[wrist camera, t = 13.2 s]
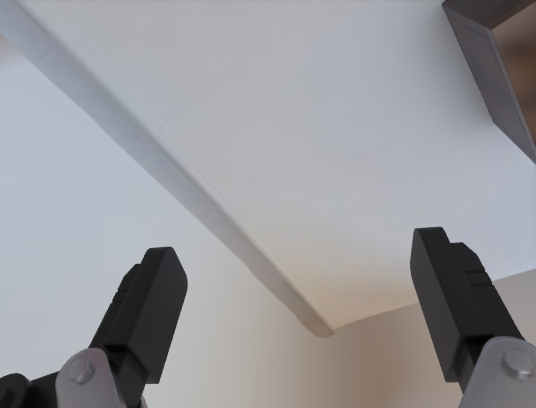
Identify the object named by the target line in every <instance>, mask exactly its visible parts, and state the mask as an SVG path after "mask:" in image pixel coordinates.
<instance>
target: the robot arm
mask: <svg viewBox="0 0 536 408" xmlns="http://www.w3.org/2000/svg"><path fill="white" fill-rule="evenodd" d="M410 270H411V276H412V280H413V283H414V286H415V289H416V293H417V296H418V299H419V302H420V305H421V307H422V311H423V314H424V317H425V320H426V323H427V326H428V329H429V332H430V335H431V338H432V342H433V344H434V348H435V351H436V354H437V357H438V360H439V363H440V366H441V369H442V372H443V375H444V378H445V381H446V382H459V385H460V387H461V390H462V393H463V397H462V400H461V402H460V404H459V407H458V408H536V347H535V346H533V345H532V344H530V343H528V342H527V341H526V340H525V339H524V338H523V337H522V335H521V334H520V332H519V330H518V329H517V327H516V325H515V323H514V321H513V320H512V318H511V316H510V314H509V312H508V310H507V309H506V307H505V305H504V303H503V301H502V299H501V298H500V296H499V294H498V292H497V290H496V289H495V287H494V285H492V281H491V279H490V278H489V276H488V274H487V273H486V272H485V269H484V267H483V265H482V263H481V261H480V259H479V258H478V256H477V254H476V253H474V252H473V251H472V250H471V249H470V248H468V247H467V246H466V245H465V244H464V243H463V242H460V243H450V241H449V239H448V237H447V235H446V233H445V231H444V229H443V228H442V227H429V228H416V229H415V230H414V234H413V242H412V250H411V259H410ZM187 286H188V283H187V276H186V273H185V271H184V269H183V267H182V265H181V263H180V261H179V259H178V257H177V255H176V253H175V251H174V249H173V248H172V247H158V248H149V249H148V250H147V251H146V253H145V255H144V258H143V260H142V262H141V264H135V265H134V266H133V268H131V269H130V271H129V272H128V273H127V274H126V275H125V276H124V278H123V280H122V282H121V284H120V286H119V288H118V292H116V294H115V296H114V298H113V300H112V301H113V302H112V303H111V304H110V306H109V308H108V310H107V312H106V314H105V316H104V318H103V320H102V322H101V324H100V326H99V328H98V330H97V332H96V334H95V336H94V338H93V340H92V342H91V344H90V346H89V347H88V349H85V350H82V351H80V352H78V353H77V354H75V355H74V356H72V357H71V358H70V359H69V360H68V361H67V362H66V363H65V364H64V365H63V367H62V368H61V370H60V371H58V372H55V373H52V374H49V375H46V376H43V377H41V378H38V379H35V380H32V381H29V380H28V379H27V378H26V377H25V376H23V375H22V374H18V373H14V374H9V375H6V376H4V377H2V378H0V408H147V405H146V402H145V399H144V397H143V395H142V393H143V390H144V387H145V384H158V383H159V381H160V378H161V374H162V371H163V368H164V365H165V362H166V358H167V355H168V352H169V348H170V345H171V342H172V339H173V335H174V332H175V329H176V325H177V322H178V319H179V315H180V312H181V309H182V305H183V303H184V299H185V296H186V293H187Z"/></svg>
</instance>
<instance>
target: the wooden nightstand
mask: <svg viewBox="0 0 536 408" xmlns="http://www.w3.org/2000/svg"><path fill="white" fill-rule="evenodd" d="M442 6H443V8H444V10H445V13H446V14H447V17H448V20H449V22H450V24H451V26H452V29H453V31H454V33H455V35H456V38H457V40H458V42H459V44H460V47H461V49H462V51H463V54H464V56H465V58H466V60H467V63H468V65H469V67H470V69H471V72H472V74H473V76H474V79H475V81H476V83H477V85H478V88H479V90H480V92H481V94H482V97H483V99H484V101H485V103H486V106H487V108H488V110H489V113H490V115H491V117H492V119H493V122H494V124H495V125H496V126H497V127H499V128H500V129H501V130H502V131H503V132H504V133H505V134H506V135H507V136H508V137H509V138H510V139H511V140H512V141H513V142H514V143H515V144H516V145H517V146H518V147H519V148H520V149H521V150H522V151H523V152H524V153H525V154H526V155H527V156H528V157H529V158H530V159H531V160H532V161H533V162H534V163H535V164H536V0H447V1H446V2H444V3H443V4H442Z"/></svg>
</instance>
